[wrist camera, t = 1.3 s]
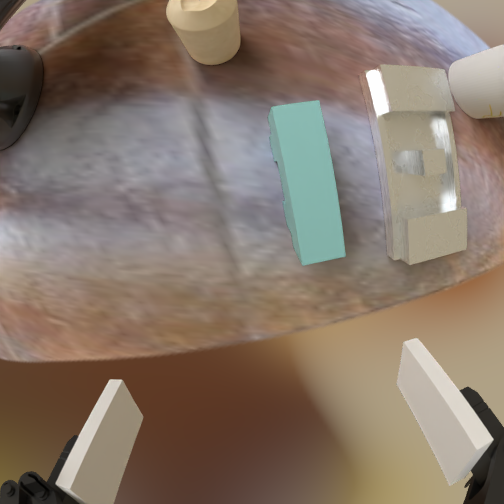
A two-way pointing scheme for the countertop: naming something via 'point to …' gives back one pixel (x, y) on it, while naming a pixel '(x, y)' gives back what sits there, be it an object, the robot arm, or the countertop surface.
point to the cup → (479, 83)
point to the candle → (206, 28)
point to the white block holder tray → (416, 161)
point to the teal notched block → (307, 181)
